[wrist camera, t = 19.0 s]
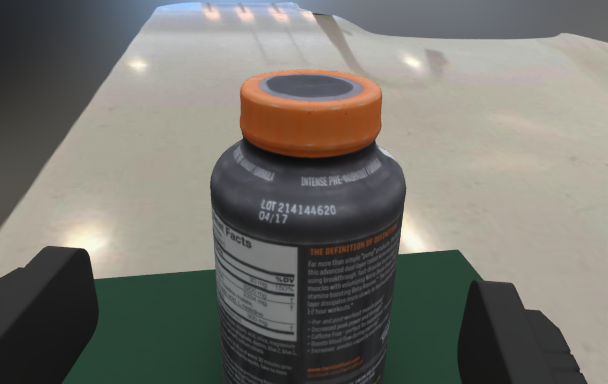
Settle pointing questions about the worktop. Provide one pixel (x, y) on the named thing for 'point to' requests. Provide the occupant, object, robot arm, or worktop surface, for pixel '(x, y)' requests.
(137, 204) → the worktop surface
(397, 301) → the mat
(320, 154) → the pill bottle
